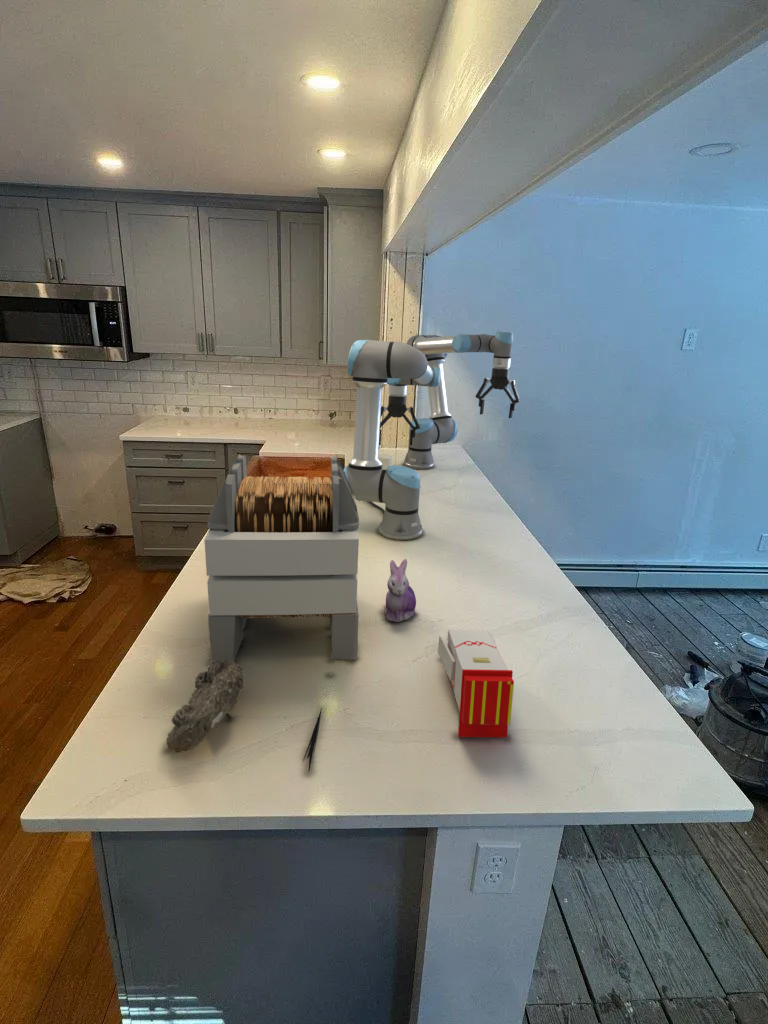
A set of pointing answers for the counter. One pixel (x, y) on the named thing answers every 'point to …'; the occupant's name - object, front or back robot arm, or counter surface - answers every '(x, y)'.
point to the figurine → (399, 594)
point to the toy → (478, 682)
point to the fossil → (206, 705)
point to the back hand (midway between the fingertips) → (495, 416)
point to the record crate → (282, 556)
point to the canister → (385, 461)
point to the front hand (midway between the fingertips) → (395, 444)
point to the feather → (313, 740)
